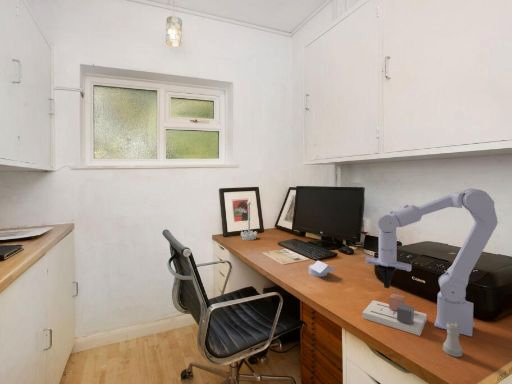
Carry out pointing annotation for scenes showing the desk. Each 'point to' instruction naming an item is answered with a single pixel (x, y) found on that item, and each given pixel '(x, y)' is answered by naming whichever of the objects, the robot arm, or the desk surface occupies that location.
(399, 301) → the brick fader
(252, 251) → the desk surface
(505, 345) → the desk surface
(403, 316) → the charcoal fader
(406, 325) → the fader console
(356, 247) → the desk surface
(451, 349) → the rook chess piece
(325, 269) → the wedge on round base
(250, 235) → the flag stand
